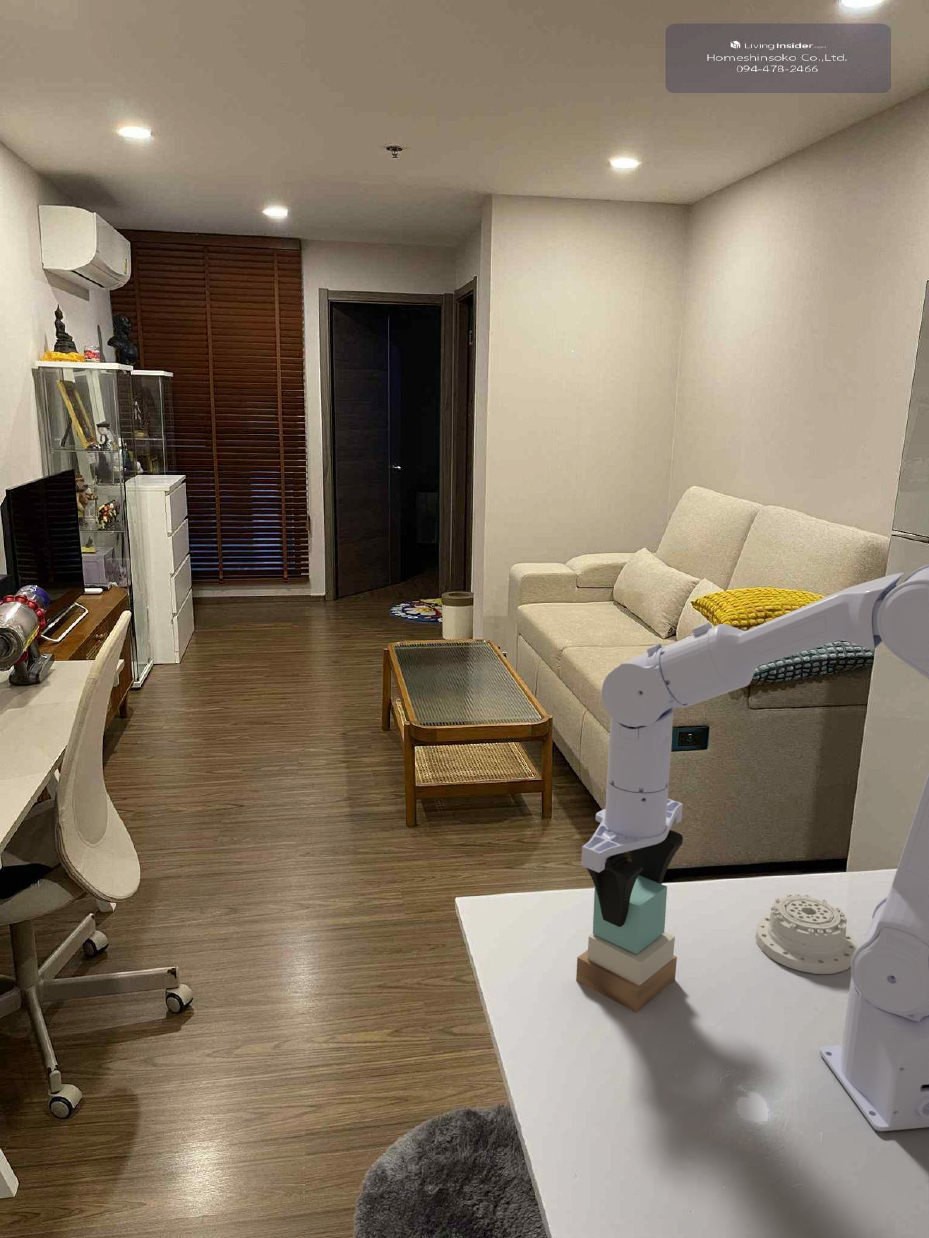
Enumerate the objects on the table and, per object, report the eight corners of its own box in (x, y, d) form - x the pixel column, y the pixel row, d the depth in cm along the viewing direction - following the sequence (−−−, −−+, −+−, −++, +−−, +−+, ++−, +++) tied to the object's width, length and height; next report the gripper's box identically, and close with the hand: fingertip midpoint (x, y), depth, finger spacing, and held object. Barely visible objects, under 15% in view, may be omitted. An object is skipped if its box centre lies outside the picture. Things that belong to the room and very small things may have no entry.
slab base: (674, 983, 93) (676, 956, 92) (636, 1016, 88) (638, 988, 87) (615, 954, 98) (617, 928, 97) (575, 983, 93) (577, 957, 92)
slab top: (673, 958, 92) (674, 936, 91) (639, 985, 88) (641, 962, 87) (621, 934, 96) (623, 912, 95) (587, 958, 92) (588, 936, 91)
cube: (664, 932, 92) (667, 886, 90) (636, 954, 88) (639, 906, 87) (621, 913, 95) (623, 868, 94) (592, 933, 91) (594, 887, 90)
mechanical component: (771, 975, 94) (870, 978, 94) (775, 936, 93) (876, 939, 93) (744, 921, 104) (834, 923, 104) (748, 885, 103) (839, 887, 103)
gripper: (642, 748, 96) (634, 869, 99) (556, 791, 85) (551, 924, 88) (705, 768, 91) (694, 893, 94) (622, 815, 81) (613, 954, 84)
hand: (629, 910), depth 91 cm, fingers closed on cube, 5 cm apart
